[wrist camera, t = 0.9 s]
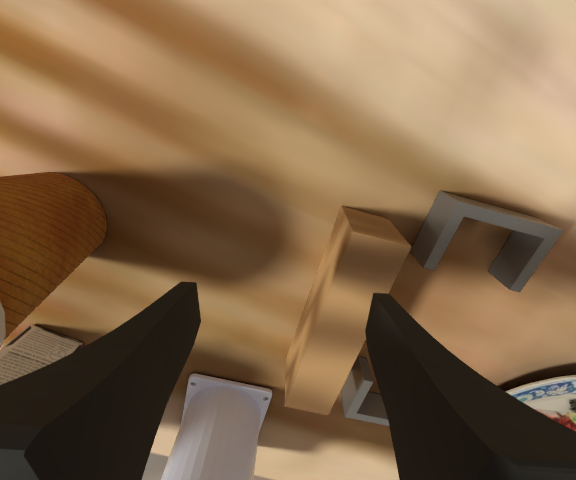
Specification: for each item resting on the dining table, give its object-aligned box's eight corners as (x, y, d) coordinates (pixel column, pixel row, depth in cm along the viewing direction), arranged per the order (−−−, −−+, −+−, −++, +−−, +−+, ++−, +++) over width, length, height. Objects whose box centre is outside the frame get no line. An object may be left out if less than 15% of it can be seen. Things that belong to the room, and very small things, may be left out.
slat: (322, 364, 27) (328, 415, 23) (286, 355, 27) (284, 406, 22) (386, 217, 21) (411, 247, 17) (340, 204, 21) (353, 231, 16)
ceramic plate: (507, 531, 39) (523, 563, 36) (362, 455, 33) (368, 487, 30) (723, 434, 30) (766, 467, 27) (578, 307, 24) (614, 333, 21)
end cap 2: (497, 273, 22) (519, 292, 20) (409, 251, 22) (423, 267, 20) (534, 216, 21) (564, 230, 18) (439, 190, 20) (458, 201, 18)
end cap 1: (410, 406, 29) (420, 432, 27) (340, 392, 28) (344, 417, 26) (432, 373, 27) (444, 397, 25) (358, 356, 26) (364, 380, 24)
